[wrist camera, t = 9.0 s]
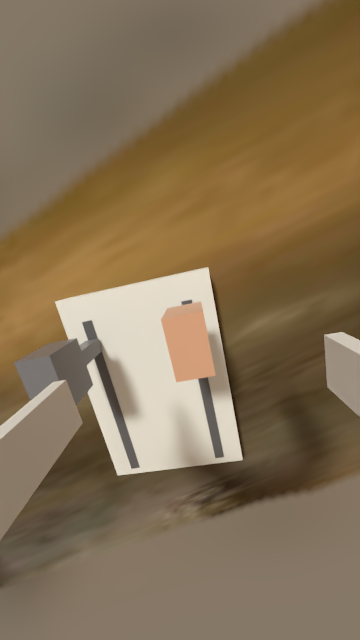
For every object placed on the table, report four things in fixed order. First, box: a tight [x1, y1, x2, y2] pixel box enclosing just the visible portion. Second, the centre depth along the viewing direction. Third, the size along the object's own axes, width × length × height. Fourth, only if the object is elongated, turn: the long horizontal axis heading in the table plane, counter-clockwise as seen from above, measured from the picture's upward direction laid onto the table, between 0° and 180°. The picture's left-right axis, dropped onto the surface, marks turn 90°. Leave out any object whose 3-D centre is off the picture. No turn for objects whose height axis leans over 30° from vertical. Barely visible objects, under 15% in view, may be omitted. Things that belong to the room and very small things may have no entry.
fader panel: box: [55, 267, 243, 475], centre depth 28 cm, size 18×26×3 cm
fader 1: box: [14, 338, 102, 405], centre depth 21 cm, size 3×5×9 cm, turn 12°
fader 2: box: [161, 301, 216, 382], centre depth 20 cm, size 3×5×9 cm, turn 12°
